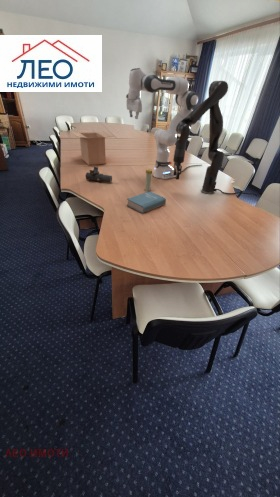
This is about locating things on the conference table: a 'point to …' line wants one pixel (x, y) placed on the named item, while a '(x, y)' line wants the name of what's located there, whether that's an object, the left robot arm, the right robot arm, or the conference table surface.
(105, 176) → the laser sight
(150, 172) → the lid
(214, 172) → the right robot arm
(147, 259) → the conference table surface
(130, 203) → the book
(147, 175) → the jar
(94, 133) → the box
